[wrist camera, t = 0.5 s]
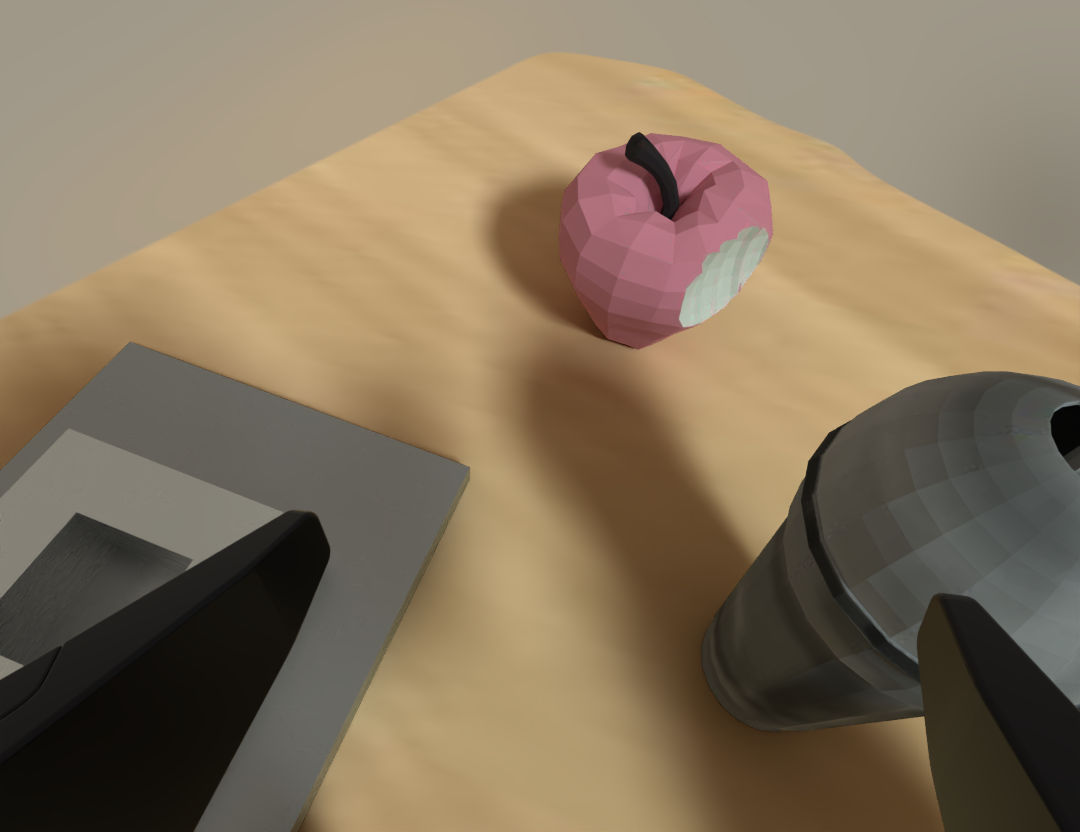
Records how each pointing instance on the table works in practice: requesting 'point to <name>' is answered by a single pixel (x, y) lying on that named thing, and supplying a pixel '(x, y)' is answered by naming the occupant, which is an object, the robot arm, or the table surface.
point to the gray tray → (221, 544)
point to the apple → (662, 235)
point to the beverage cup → (910, 553)
